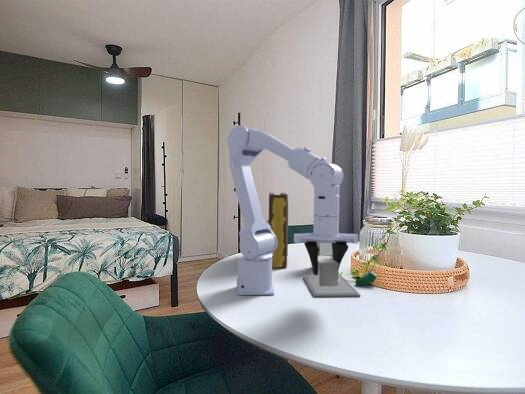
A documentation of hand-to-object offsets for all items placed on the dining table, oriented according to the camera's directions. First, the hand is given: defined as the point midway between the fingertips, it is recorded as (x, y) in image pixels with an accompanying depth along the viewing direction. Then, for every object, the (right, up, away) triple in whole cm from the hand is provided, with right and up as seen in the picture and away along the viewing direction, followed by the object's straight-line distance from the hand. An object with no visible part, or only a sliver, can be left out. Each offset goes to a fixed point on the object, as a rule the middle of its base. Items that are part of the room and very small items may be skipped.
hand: (324, 273), depth 70 cm
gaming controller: (+16, -8, +20) cm, 26 cm away
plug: (0, -2, +1) cm, 2 cm away
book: (-9, -6, +43) cm, 44 cm away
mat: (+4, -7, +15) cm, 17 cm away
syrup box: (+6, -7, +33) cm, 34 cm away
